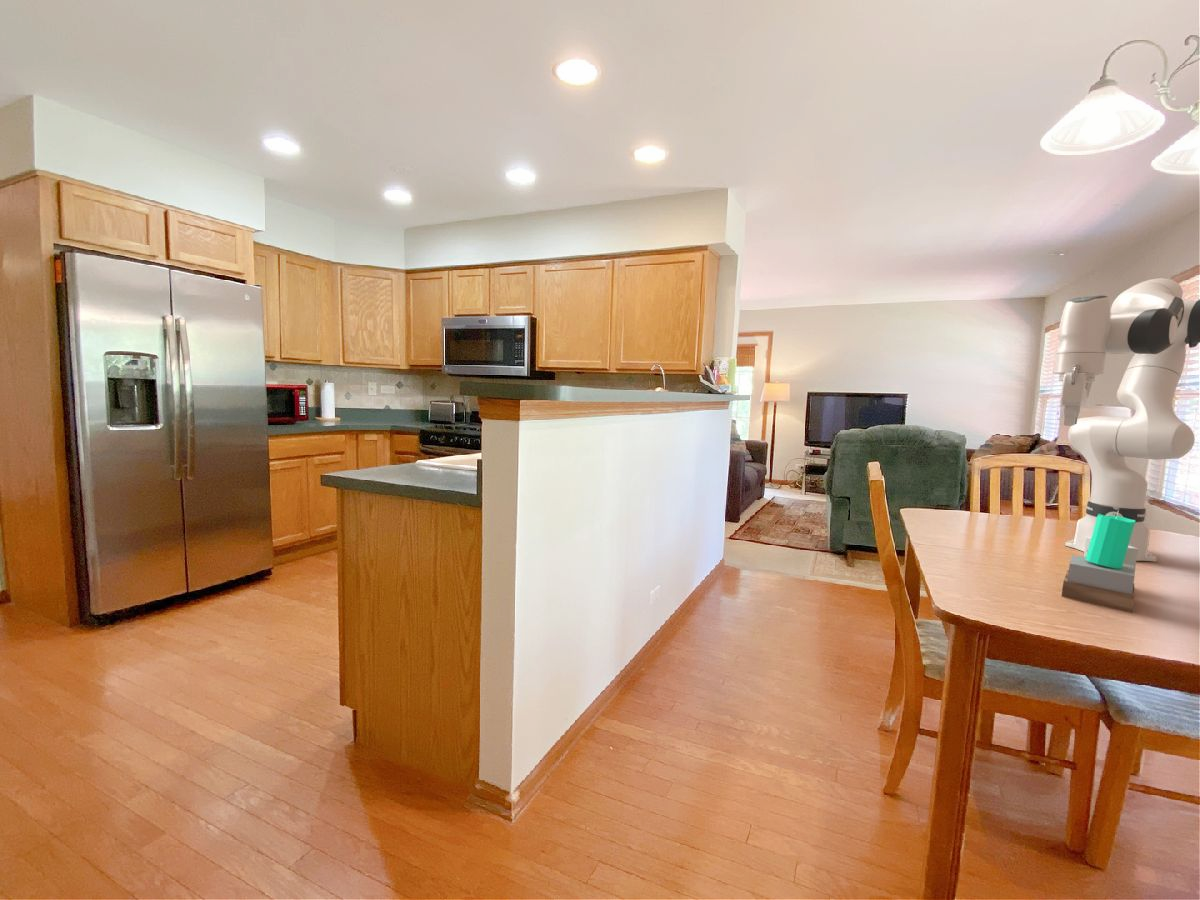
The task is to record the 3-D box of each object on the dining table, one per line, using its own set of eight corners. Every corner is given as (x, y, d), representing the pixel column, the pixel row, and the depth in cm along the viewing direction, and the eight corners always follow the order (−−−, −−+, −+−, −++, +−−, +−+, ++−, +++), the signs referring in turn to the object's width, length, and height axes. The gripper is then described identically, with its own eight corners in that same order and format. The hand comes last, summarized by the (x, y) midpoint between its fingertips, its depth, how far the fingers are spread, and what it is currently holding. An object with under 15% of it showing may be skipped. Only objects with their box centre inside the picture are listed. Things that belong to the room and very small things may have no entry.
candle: (1118, 564, 116) (1133, 511, 114) (1126, 571, 111) (1141, 516, 109) (1082, 556, 119) (1096, 505, 117) (1088, 562, 114) (1103, 509, 112)
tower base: (1065, 586, 123) (1067, 570, 123) (1131, 600, 116) (1134, 583, 115) (1061, 598, 116) (1063, 581, 115) (1131, 614, 108) (1134, 596, 108)
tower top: (1070, 571, 122) (1072, 554, 122) (1131, 583, 115) (1133, 565, 115) (1067, 581, 115) (1069, 563, 115) (1131, 594, 108) (1134, 575, 108)
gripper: (1095, 363, 114) (1085, 427, 115) (1098, 368, 128) (1090, 425, 130) (1056, 364, 118) (1048, 425, 120) (1064, 368, 133) (1056, 423, 134)
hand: (1070, 425), depth 125 cm, fingers open, 8 cm apart
